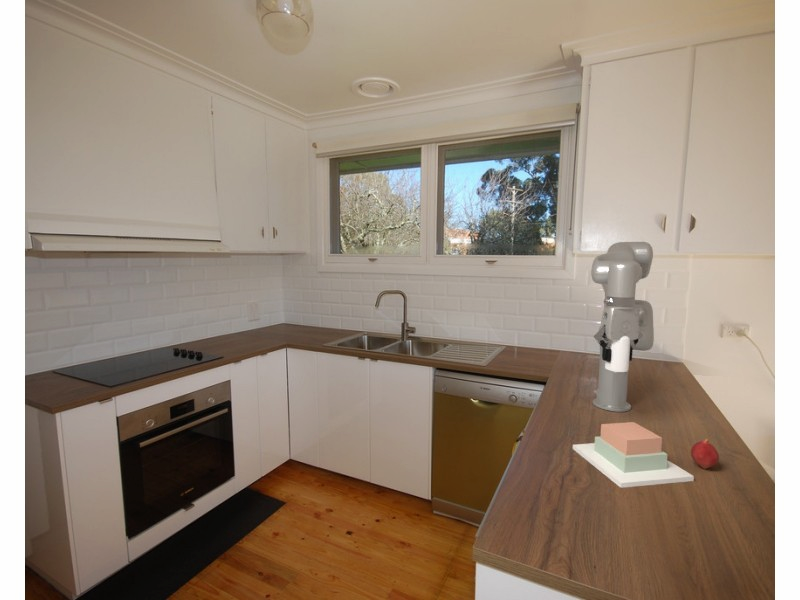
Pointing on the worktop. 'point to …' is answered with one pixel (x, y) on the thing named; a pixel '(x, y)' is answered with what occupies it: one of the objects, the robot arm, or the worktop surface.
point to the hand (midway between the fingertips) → (616, 359)
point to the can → (619, 356)
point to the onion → (704, 454)
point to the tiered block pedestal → (631, 456)
